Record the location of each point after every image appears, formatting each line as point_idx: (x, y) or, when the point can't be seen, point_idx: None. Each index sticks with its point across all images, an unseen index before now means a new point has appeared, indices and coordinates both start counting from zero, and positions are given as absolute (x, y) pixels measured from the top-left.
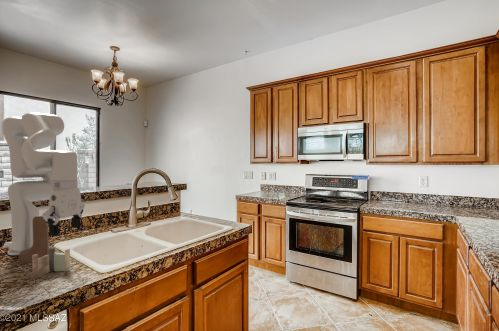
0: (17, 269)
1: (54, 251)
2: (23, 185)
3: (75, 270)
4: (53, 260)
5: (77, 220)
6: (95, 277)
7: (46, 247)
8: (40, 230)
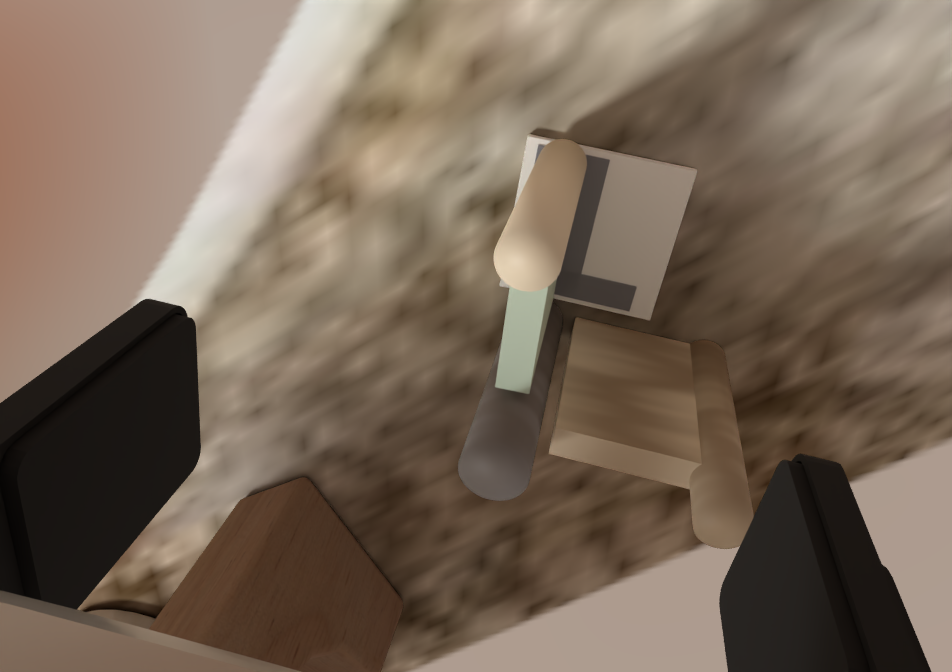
0: (469, 580)
1: (493, 413)
2: None
3: (507, 106)
4: None
5: (73, 449)
6: None
7: (254, 567)
8: None
